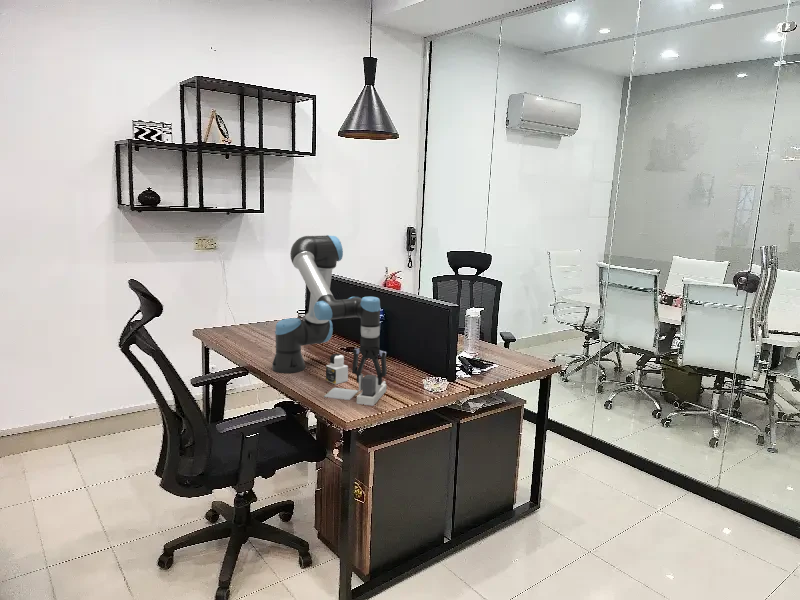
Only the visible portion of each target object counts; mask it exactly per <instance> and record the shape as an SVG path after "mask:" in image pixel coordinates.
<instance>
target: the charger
mask: <svg viewBox="0 0 800 600" xmlns="http://www.w3.org/2000/svg"><path fill="white" fill-rule="evenodd" d="M376 377H377V375H372V374H365V375H364V376H363V386H362V390H361V392H362V395H363V396H371V397H373V396H374V395H375V394H376Z"/></svg>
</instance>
